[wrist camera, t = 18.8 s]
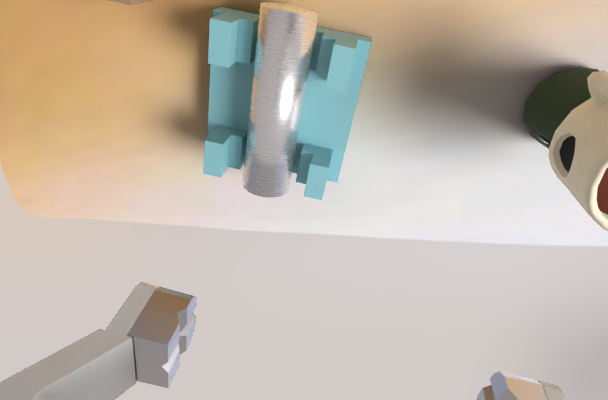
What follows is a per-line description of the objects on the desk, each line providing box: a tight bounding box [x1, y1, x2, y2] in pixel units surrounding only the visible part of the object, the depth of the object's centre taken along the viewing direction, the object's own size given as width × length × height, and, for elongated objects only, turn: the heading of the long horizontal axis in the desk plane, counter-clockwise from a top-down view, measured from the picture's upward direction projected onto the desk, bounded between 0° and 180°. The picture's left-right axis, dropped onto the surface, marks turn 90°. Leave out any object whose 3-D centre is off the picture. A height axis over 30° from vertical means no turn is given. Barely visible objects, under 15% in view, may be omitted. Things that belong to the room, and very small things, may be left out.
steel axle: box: [243, 2, 319, 197], centre depth 31 cm, size 14×4×4 cm, turn 170°
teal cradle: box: [203, 7, 371, 200], centre depth 33 cm, size 12×12×6 cm
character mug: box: [523, 67, 608, 231], centre depth 26 cm, size 11×7×13 cm, turn 33°
